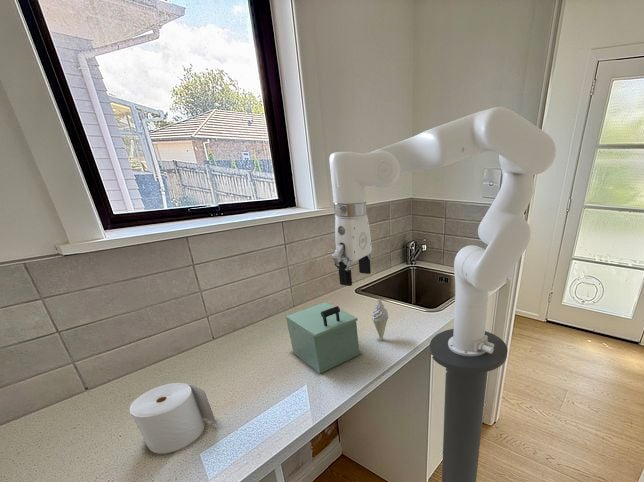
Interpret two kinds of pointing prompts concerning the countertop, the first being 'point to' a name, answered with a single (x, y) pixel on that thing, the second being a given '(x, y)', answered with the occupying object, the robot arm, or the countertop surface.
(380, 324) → the ice cream cone
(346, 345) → the bin
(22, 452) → the countertop surface
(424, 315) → the countertop surface
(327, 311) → the bin lid
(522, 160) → the robot arm
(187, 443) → the toilet tissue
